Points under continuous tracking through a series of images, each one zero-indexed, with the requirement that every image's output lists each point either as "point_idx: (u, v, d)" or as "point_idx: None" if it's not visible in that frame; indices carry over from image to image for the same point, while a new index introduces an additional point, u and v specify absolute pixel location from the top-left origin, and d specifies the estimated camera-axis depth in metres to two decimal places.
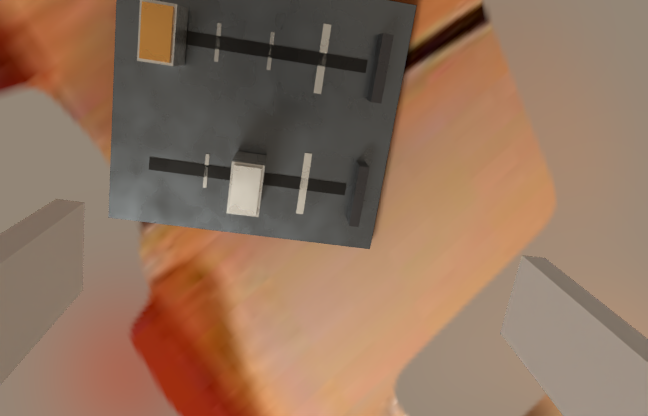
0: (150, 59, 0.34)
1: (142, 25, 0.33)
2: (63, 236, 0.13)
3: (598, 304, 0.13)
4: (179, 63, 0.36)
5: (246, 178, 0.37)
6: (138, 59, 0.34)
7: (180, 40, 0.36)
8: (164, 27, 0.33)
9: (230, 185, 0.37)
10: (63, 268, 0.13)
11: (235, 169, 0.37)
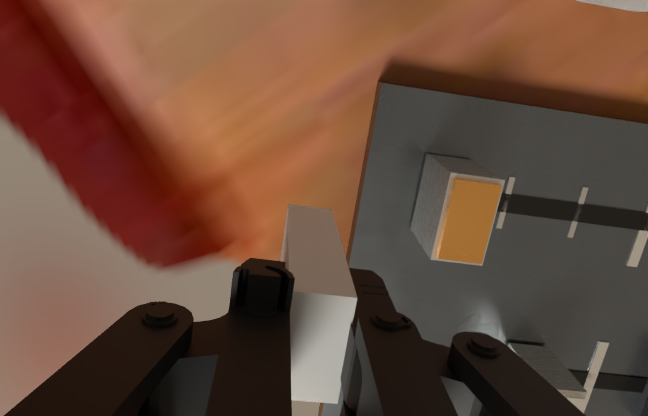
0: (453, 259, 0.22)
1: (451, 213, 0.21)
2: None
3: (334, 240, 0.14)
4: None
5: None
6: (432, 258, 0.22)
7: None
8: (483, 215, 0.22)
9: None
10: None
11: None
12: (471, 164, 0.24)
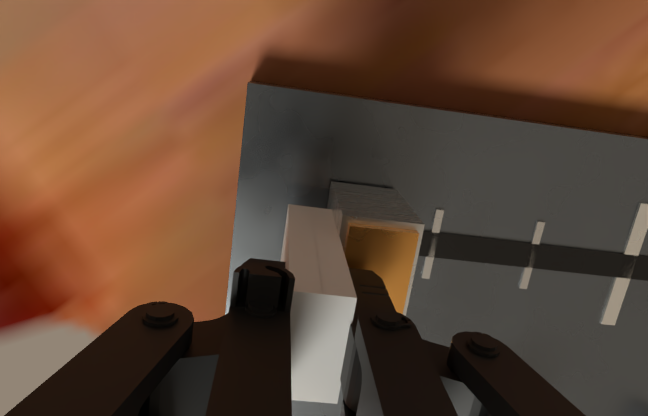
0: None
1: None
2: None
3: (334, 240, 0.14)
4: None
5: None
6: None
7: None
8: (394, 277, 0.15)
9: None
10: None
11: None
12: (388, 197, 0.17)
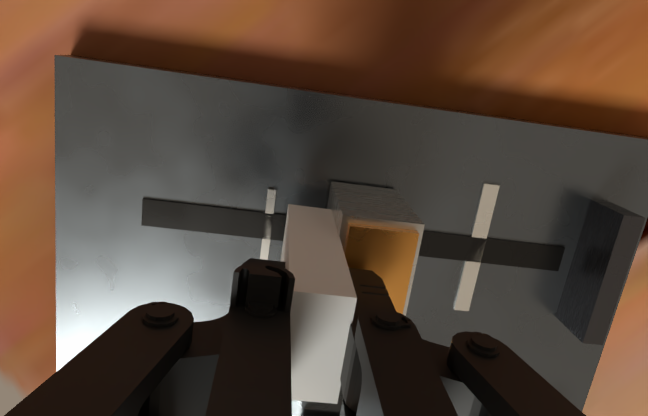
0: None
1: None
2: None
3: (334, 240, 0.14)
4: None
5: None
6: None
7: None
8: (394, 277, 0.15)
9: None
10: None
11: None
12: (388, 197, 0.17)
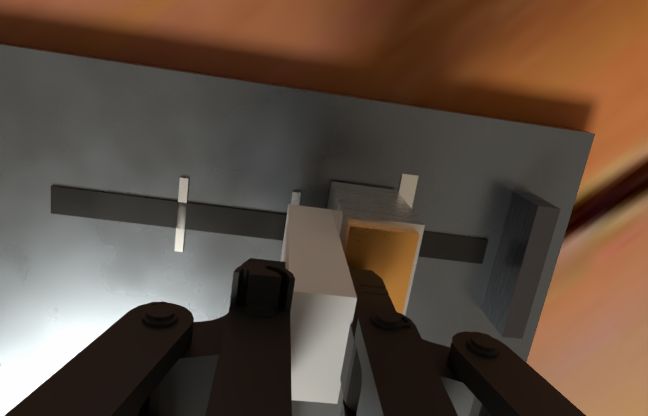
0: None
1: None
2: None
3: (334, 240, 0.14)
4: None
5: None
6: None
7: None
8: (394, 277, 0.15)
9: None
10: None
11: None
12: (388, 198, 0.17)
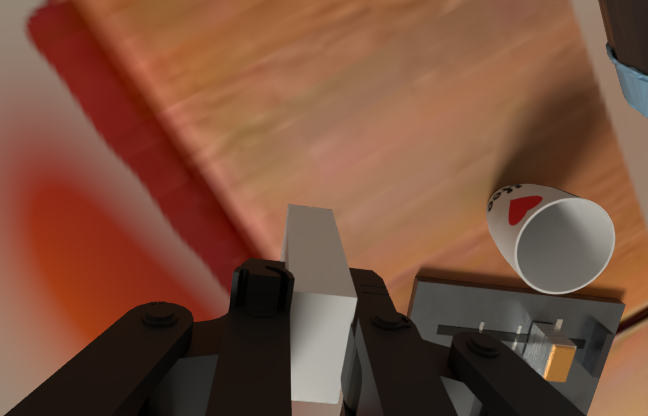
0: (552, 380, 0.49)
1: (553, 361, 0.48)
2: None
3: (334, 240, 0.14)
4: None
5: None
6: None
7: None
8: (567, 362, 0.48)
9: None
10: None
11: None
12: (557, 331, 0.50)
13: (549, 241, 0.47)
